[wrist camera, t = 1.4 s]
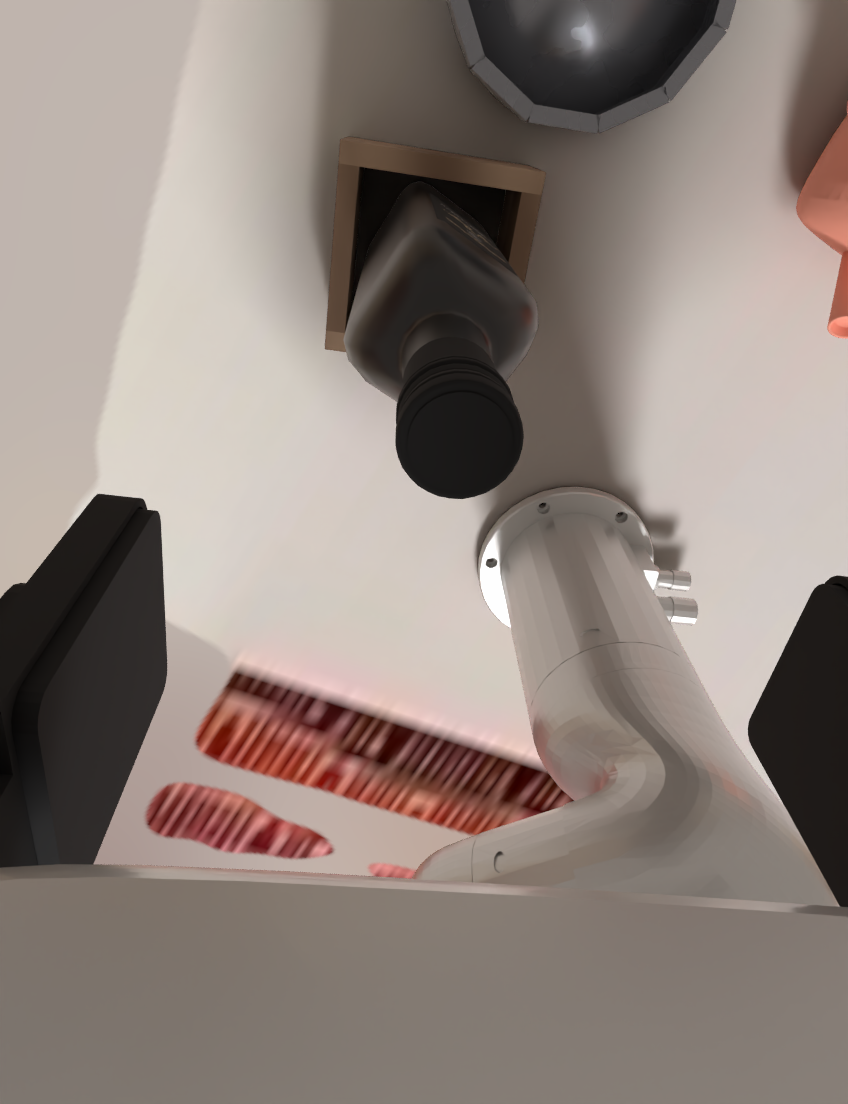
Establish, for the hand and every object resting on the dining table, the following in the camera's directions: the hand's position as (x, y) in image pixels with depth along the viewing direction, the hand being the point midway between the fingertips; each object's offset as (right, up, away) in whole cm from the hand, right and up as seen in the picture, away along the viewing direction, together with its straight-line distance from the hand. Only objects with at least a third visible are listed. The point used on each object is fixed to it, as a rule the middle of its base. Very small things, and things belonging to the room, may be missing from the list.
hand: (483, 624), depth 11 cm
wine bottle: (-1, +19, +33) cm, 38 cm away
